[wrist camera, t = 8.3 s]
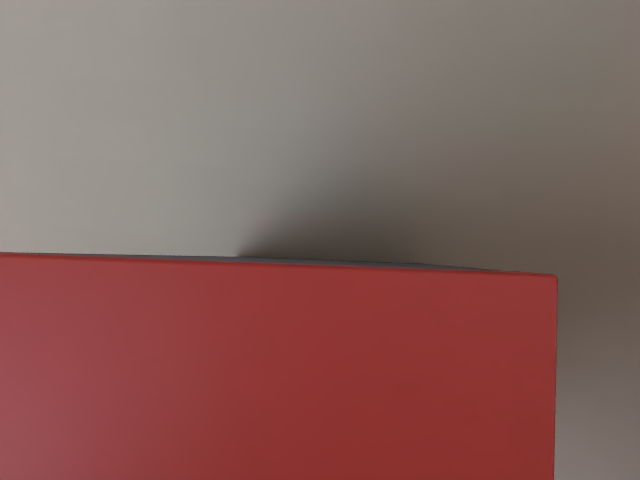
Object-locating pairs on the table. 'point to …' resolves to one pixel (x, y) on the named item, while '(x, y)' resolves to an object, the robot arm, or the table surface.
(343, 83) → the table surface
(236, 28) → the table surface
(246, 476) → the red-lidded grey box
